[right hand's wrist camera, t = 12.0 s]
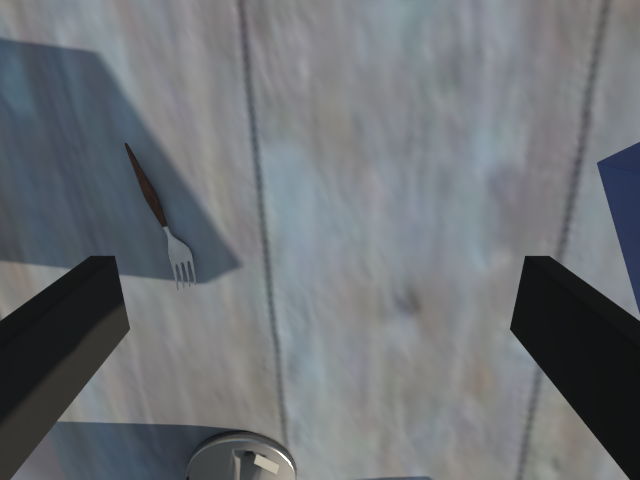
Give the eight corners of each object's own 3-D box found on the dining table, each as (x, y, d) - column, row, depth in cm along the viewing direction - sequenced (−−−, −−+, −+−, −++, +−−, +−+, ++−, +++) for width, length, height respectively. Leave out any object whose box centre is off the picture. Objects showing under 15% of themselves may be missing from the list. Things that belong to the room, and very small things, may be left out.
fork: (139, 138, 38) (130, 141, 36) (202, 276, 44) (197, 284, 42) (116, 146, 39) (105, 149, 37) (181, 282, 44) (175, 290, 42)
